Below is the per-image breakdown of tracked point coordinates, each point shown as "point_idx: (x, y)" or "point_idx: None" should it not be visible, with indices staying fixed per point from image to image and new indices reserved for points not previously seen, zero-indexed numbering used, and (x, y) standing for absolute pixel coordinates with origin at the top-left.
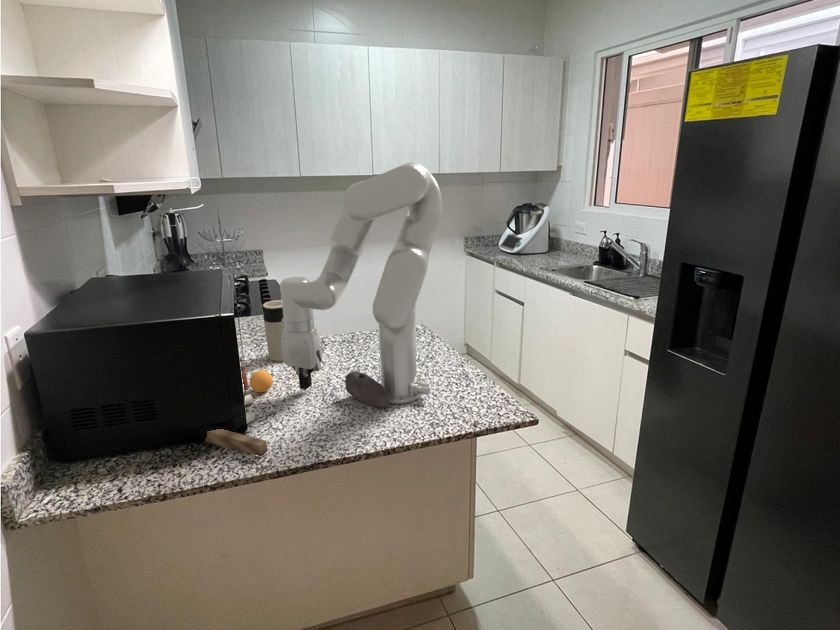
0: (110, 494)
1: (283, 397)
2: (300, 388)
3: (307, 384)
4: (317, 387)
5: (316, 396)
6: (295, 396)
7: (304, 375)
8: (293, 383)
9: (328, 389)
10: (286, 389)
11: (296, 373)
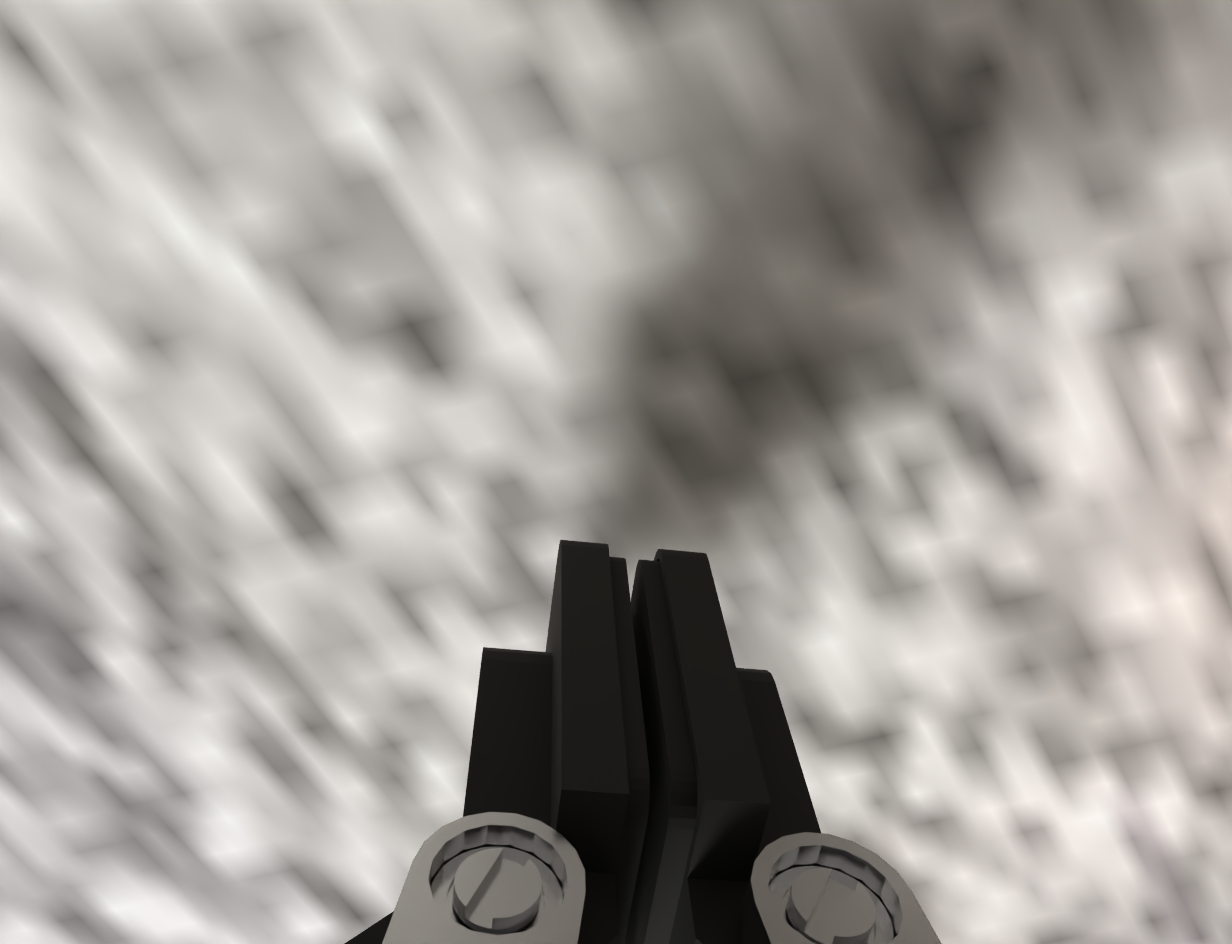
0: None
1: (1016, 258)
2: (692, 554)
3: (507, 668)
4: None
5: (294, 487)
6: (756, 371)
7: (546, 865)
8: (1030, 796)
9: (238, 776)
10: (1082, 580)
11: (894, 895)
